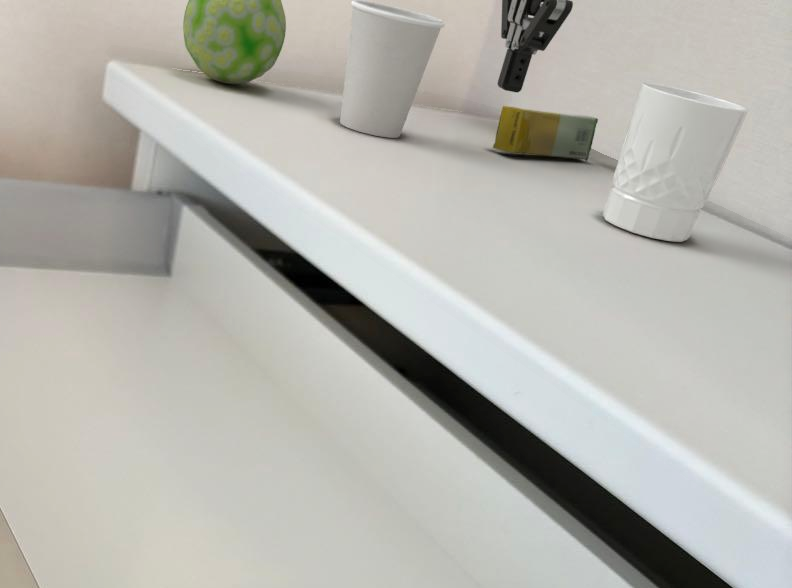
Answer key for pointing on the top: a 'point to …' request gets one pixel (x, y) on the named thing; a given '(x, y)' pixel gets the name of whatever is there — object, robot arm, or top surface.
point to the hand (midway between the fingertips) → (508, 89)
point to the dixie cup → (385, 66)
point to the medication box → (545, 133)
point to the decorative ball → (234, 37)
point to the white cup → (670, 160)
